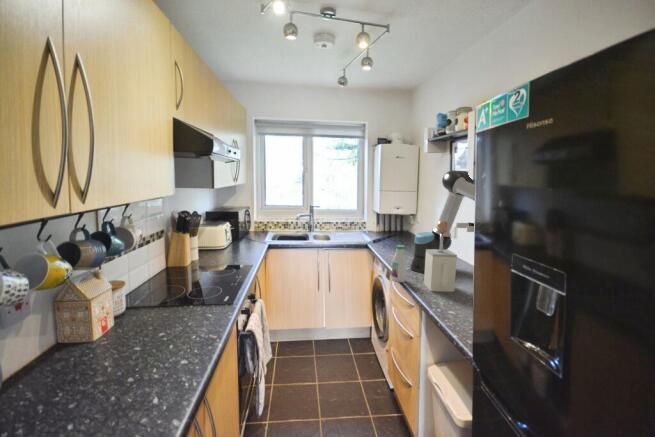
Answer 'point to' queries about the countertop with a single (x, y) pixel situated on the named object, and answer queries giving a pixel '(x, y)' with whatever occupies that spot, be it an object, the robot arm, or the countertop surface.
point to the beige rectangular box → (440, 270)
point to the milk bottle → (399, 265)
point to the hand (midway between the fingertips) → (461, 227)
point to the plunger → (442, 233)
